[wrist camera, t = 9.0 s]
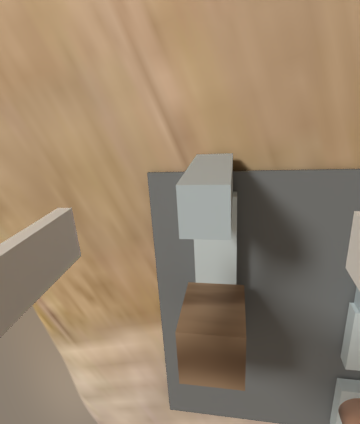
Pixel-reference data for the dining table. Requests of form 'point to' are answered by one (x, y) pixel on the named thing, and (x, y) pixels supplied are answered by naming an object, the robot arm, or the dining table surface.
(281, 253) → the mat
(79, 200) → the dining table surface
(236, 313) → the block
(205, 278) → the grey stepped bracket
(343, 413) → the peach egg shape
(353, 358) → the broken strip
